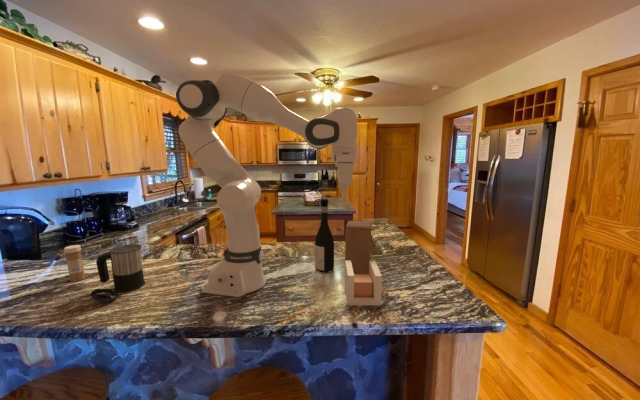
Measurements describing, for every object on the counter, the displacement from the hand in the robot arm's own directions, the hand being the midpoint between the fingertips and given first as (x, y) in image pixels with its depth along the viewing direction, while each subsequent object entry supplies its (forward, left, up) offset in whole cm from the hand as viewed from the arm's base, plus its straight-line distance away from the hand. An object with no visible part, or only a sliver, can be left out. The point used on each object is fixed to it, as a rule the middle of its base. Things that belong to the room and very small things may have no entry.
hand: (343, 195), depth 93 cm
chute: (+6, -10, -33) cm, 35 cm away
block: (+6, -10, -33) cm, 35 cm away
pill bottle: (-103, -1, -33) cm, 108 cm away
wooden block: (+7, +10, -33) cm, 35 cm away
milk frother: (-79, -10, -33) cm, 86 cm away
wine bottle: (-7, +10, -33) cm, 35 cm away
